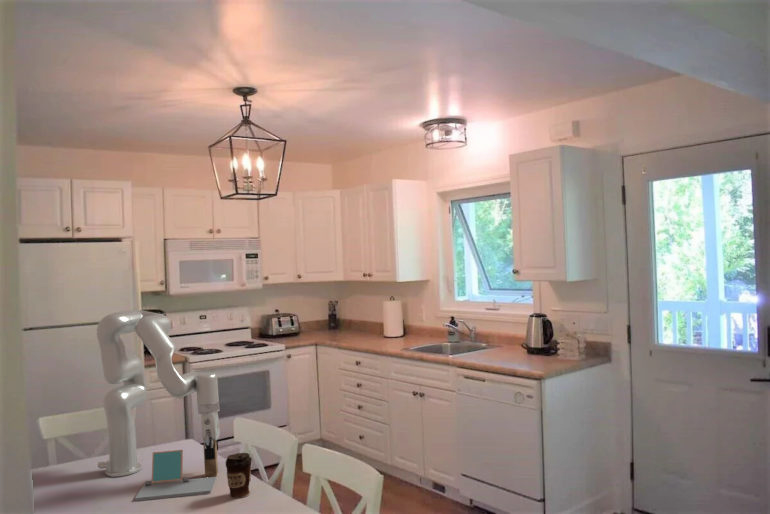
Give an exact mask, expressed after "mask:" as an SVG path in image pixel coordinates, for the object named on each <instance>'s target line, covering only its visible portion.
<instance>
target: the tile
mask: <svg viewBox="0 0 770 514" xmlns="http://www.w3.org/2000/svg"><path fill="white" fill-rule="evenodd" d="M183 455H184V450H183V449H178V450H167V451H165V450H164V451H156V452H155V451H154V452H152V462H151V465H152V468H151V483H157V482H167V481H177V480H183V475H184V473H183V470H184V469H183V468H184V467H183V465H184V464H183V462H184V461H183V460H184V456H183Z"/></svg>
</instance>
